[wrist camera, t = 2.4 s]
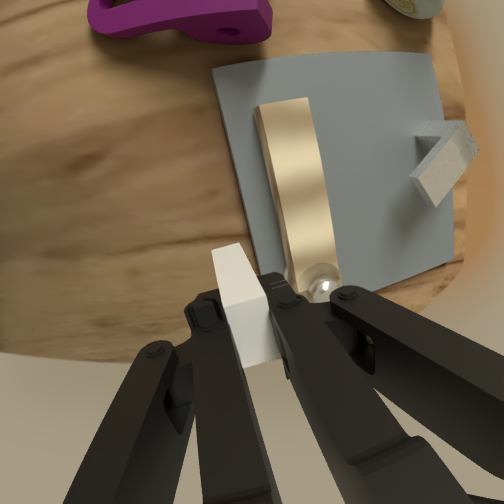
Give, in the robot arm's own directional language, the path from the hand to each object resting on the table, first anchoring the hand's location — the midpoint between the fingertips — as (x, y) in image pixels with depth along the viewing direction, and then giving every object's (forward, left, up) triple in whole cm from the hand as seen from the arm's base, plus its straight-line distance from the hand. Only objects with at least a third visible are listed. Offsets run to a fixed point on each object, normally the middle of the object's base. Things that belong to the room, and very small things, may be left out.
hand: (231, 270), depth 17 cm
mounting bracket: (+1, +23, -17) cm, 29 cm away
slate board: (+17, 0, -17) cm, 24 cm away
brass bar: (+8, -1, -15) cm, 17 cm away
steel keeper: (+24, +1, -15) cm, 29 cm away
